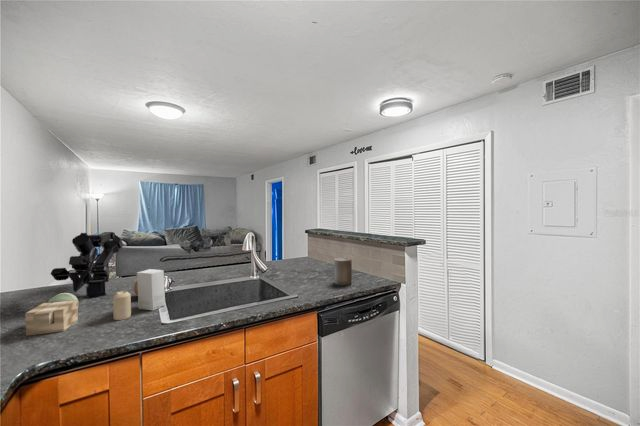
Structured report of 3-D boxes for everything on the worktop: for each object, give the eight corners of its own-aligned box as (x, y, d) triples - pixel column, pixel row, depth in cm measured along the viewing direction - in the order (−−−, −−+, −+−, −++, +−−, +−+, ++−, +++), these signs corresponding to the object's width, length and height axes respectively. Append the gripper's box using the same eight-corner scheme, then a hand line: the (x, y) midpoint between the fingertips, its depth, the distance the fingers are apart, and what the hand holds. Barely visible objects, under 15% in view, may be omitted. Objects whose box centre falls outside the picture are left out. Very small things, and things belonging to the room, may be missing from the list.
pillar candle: (355, 283, 154) (355, 256, 154) (343, 287, 147) (343, 258, 147) (342, 280, 161) (342, 254, 161) (330, 283, 154) (330, 256, 154)
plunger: (49, 317, 104) (48, 294, 103) (79, 314, 107) (78, 291, 106) (24, 335, 90) (23, 307, 90) (58, 330, 93) (58, 304, 93)
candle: (112, 321, 103) (111, 294, 103) (115, 316, 108) (114, 290, 108) (130, 318, 106) (129, 292, 106) (132, 313, 111) (131, 288, 111)
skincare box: (165, 305, 119) (165, 269, 119) (151, 311, 113) (151, 273, 112) (151, 303, 122) (150, 268, 121) (136, 308, 116) (136, 271, 115)
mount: (44, 323, 102) (43, 302, 101) (78, 319, 105) (77, 299, 105) (26, 335, 92) (25, 313, 92) (63, 331, 95) (63, 309, 95)
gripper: (52, 249, 114) (36, 283, 104) (106, 246, 120) (96, 279, 110) (63, 263, 122) (49, 297, 112) (113, 261, 128) (104, 292, 118)
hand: (75, 291), depth 113 cm, fingers closed
